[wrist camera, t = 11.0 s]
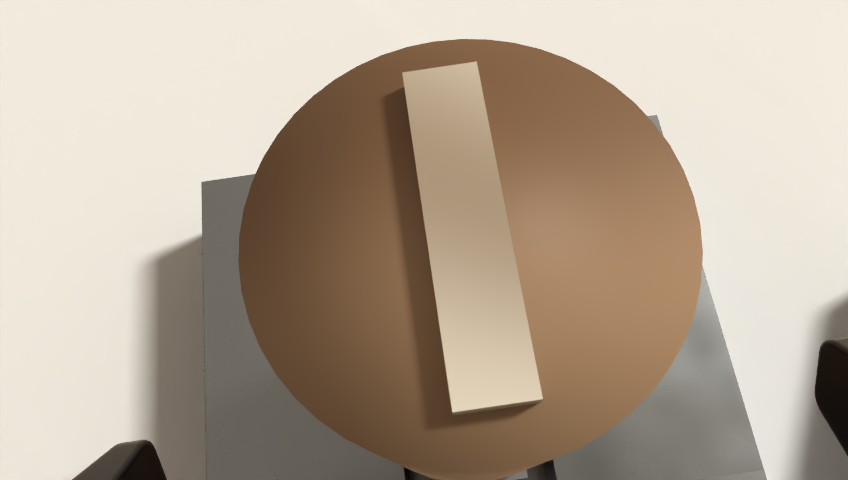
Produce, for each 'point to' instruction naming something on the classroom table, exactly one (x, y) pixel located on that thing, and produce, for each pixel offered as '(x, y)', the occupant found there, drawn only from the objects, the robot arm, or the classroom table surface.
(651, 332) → the knob
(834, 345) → the robot arm
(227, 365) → the hub plate
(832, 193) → the classroom table surface
